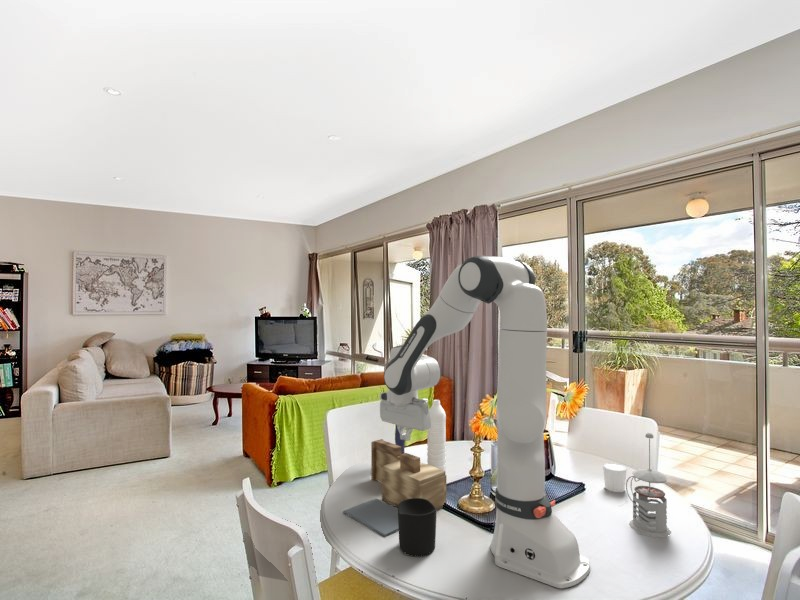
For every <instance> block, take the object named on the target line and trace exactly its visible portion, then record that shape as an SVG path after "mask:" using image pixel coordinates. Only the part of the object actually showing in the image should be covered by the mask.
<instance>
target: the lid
mask: <svg viewBox="0 0 800 600" xmlns="http://www.w3.org/2000/svg"><path fill="white" fill-rule="evenodd" d="M427 464H428V463H427ZM427 464H426V463H424V462H421V457H419V456H416V455H413V454H410V453H407V452H404V454H400V461H397V462H394V463H391V464H388V465H384V466H383V470H384V471H387V472H389V473H392V474H394V475H396V476H399V477H401V478H404V479H406V480H408V481H411V482H413V483H416V484H418V485H422V484H424V483H427V482H429V481H432V480H435V479H437V478H440V477H442V476H445V475H446V471H444V470H441V469H438V468H435V467H432V466H430V465H427Z"/></svg>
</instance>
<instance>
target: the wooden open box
mask: <svg viewBox="0 0 800 600" xmlns="http://www.w3.org/2000/svg"><path fill="white" fill-rule="evenodd" d="M410 498H423V499H426V500H428V501H430V502H431V503H432V504H433V505H434V507H435V508H437V511H439V510H442V509H444V508H443V505H444V503H446V504H447V474H445V476H442V477H440V478H437V479H435V480H432V481H429V482H427V483H424V484H422V485H418V484H416V483H413V482H411V481H408V480H406V479H404V478H401V477H399V476H396V475H394V474H392V473H389V472H387V471H384V470H382V482H381V501H383V502H385V503H387V504H389V505H391V506H393V507H395V508H398V505H399V503H400V502H401V501H403V500H406V499H410Z"/></svg>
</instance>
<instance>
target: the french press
mask: <svg viewBox="0 0 800 600" xmlns="http://www.w3.org/2000/svg"><path fill="white" fill-rule="evenodd" d="M645 438H647V439H648V440H649V441H648V454H649V455H648V468H639V469H636V470H634V471H633V472H632V475H631V476H629V477H628V478H627V479H626V480H625V490H626V494H627V496H628V498H629V500H630V501H631V502H632V520H630V521H629V522H628V525H629V528H631V529H632V531H635V532H636V533H638V534H640V535H644V536H647V537H651V538H658V539H659V538H660V537H662V538H668V537H669V536H668V535H670V534H671V535H672V531H671V530H669V529H670V528H669V526H668V525H667V521H668V520H667V519H668V517H667V514H668V513H667V509H668V506H667V505H668V503H667V502H668V500H667V498H666V493H665V492H664V490H662V489H659V488H657V487H654V486H651V484H664V483H666V482H667V481H668V477H667V476H666V475H664V474H663V473H661V472H660V471H658V470H656V469H651V439H654V435H653V433H651V432H647V433H645ZM630 479H631V480H630ZM629 480H630V490H631V494H632V498H631V496H630V494H629V492H628V491H629V490H628V482H629ZM633 480H634V482H639V481H642V482H645V483H648V485H637V486H636V487H634V491H635V492H633V488H632V485H633V484H632V481H633ZM637 494H638V497H637ZM658 499H659V500H658ZM649 512H651V513H649ZM671 535H670V536H671ZM667 536H668V537H667Z"/></svg>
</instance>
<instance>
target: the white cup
mask: <svg viewBox="0 0 800 600" xmlns="http://www.w3.org/2000/svg"><path fill="white" fill-rule="evenodd" d="M602 469H603V477H604V478H603V479H604V488H605V489H606V490H607V491H609V492H613V493H623V492H625V490H626V481H627V479H626V478H627V467H626V466H625V465H622V464H618V463H614V462H613V463H612V462H611V463H610V462H607V463H604V464H603V465H602Z"/></svg>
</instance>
